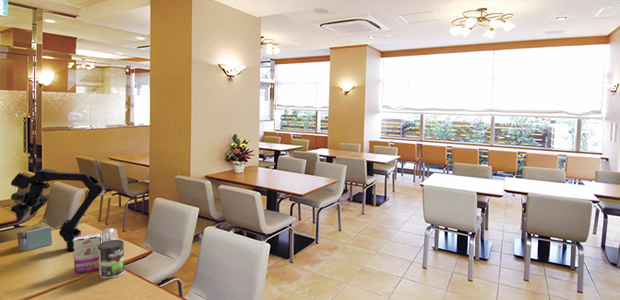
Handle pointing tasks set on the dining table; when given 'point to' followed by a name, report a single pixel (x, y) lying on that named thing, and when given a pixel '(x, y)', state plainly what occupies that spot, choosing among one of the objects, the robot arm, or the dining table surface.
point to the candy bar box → (86, 253)
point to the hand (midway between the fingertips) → (24, 218)
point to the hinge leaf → (36, 239)
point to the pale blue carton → (22, 235)
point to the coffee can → (111, 258)
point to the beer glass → (109, 234)
